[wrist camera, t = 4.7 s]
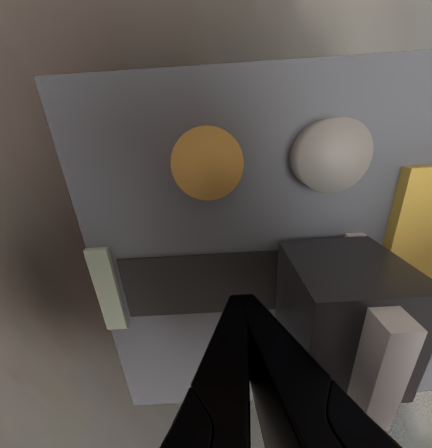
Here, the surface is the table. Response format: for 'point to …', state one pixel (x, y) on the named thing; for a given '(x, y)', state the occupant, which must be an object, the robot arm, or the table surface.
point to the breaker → (358, 317)
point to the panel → (234, 186)
